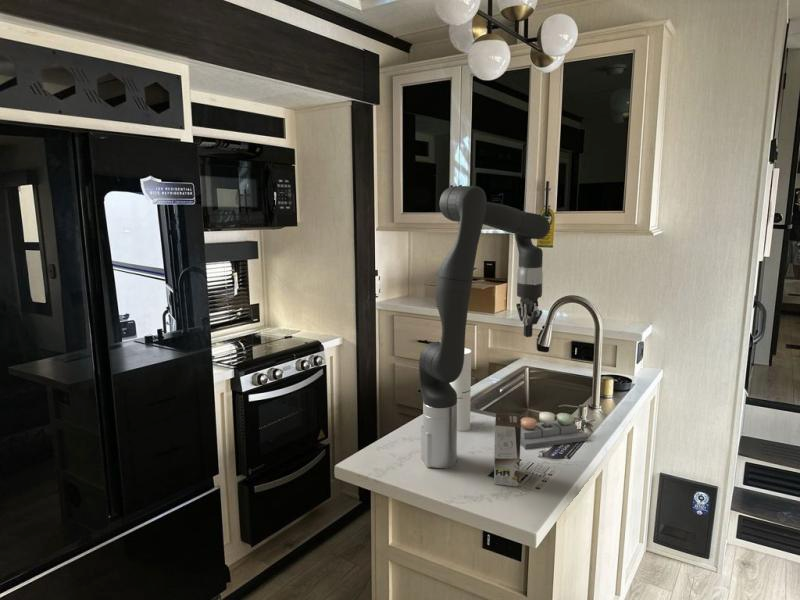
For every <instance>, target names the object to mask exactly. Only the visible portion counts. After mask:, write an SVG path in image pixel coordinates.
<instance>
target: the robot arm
mask: <svg viewBox="0 0 800 600" xmlns="http://www.w3.org/2000/svg"><path fill="white" fill-rule="evenodd" d="M439 210H440V212H441V214H442V216H444V218H446V219H447V220H449V221H451V222H457V223H458V222H459V227H458V233H457V236H456V239H455V242H454V244H453V246H452V247H451V249H450V251H449V252H448V253H447V255H446V257H445V258H444V259H443V261H442V262H441V264H440V266H439V268H438V272H437V278H436V284H435V285H436V286H435V293H434V294H435V302H436V307H437V311H438V313H439V317H440V322H441V340H440V342H435V341H434V342H430V343H428V344H426V345H425V346H424V347H423V349H422V350H421V352H420V356H419V361H418V374H419V375H418V376H419V389H420V390H419V391H420V394H421V396H422V415H423V416H422V425H421V426H420V459H421V460H422V461H423V463H424V465H425V466H426V468H434V469H435V468H436V469H447V468H450V467H452V466H455V465H456V463H457V457H458V453H457V452H458V451H457V449H458V448H457V446H458V444H457V443H458V439H457V437H458V436H457V435H458V433H457V432H458V431H457V393H456V391H455V390H454V389H453V387H452V386H451V385H450V383H451V382H454V381H455V380H456V379H457V378H458V377H459V376H460V374H461V372H462V369H463V364H464V351H465V348H466V345H465V344H466V329H467V328H466V327H467V320H468V312H469V311H468V310H469V306H470V305H469V304H470V297H471V294H472V287H473V279H474V271H475V265H476V264H475V263H476V257H477V254H478V253H477V252H478V248H479V247H478V246H479V242H480V237H481V233H482V229H483V225H484V226H487V227H490V228H493V229H496V230H500V231H503V232H505V233H506V232H507V233H510V234H514V238H515V242H516V248H517V251H518V269H517V274H516V275H517V276H516V296H517V297H518V298H520V300H519V303H516V311H517V314H518V317H519V320H520V322H522V324H523V336H524V337H525V338H531V337H533V326H535V325H537V324H538V322H539V321H540V318H541V317H542V314H543V310H540V309H539V300H538V299H539V298H542V296H543V281H544V280H543V277H544V273H543V255H544V254H543V252H544V251H543V249H542V248H541V247H538V246H536V245H534V244H533V240H541V239H542V240H543V239H544V238H546V237H547V236H548V234H549V233H550V230H551V224H550V221H549V219H548V218H547V217H546V216H544V215H542V214H540V213H539V214H538V213H533V212H528V211H527V212H526V211H523V210H520V209H518V208H515V207H512V206H509V205H505V204H502V203H501V204H500V203H495V202H490V201H487V196H486V192H485V190H484V189H482V188H481V187H480V186H476V185H474V186H473V185H469V186H468V185H455V186H451V187H448V188H446V189H445V190H443V192H442V194H441V195H440V199H439Z"/></svg>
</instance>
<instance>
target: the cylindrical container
mask: <svg viewBox="0 0 800 600" xmlns="http://www.w3.org/2000/svg"><path fill="white" fill-rule="evenodd" d="M471 377H472V349H469V348H466V347H465V351H464V364H463V369H462V372H461V374H460V376H459V377H458V378H457V379H456V380H455V381H454V382H451V383H450V385H451V386H452V387H453V389H454V390H455V391H456V393H457V432H464V431H468V430H470V428H471V394H472V393H471V391H472V390H471V386H472V384H471V383H472V382H471V380H472V378H471Z"/></svg>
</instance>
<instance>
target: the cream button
mask: <svg viewBox="0 0 800 600" xmlns="http://www.w3.org/2000/svg"><path fill="white" fill-rule="evenodd" d="M555 416H556V415H555V414H554V413H553V412H550V411H541V412H539V416H538V417H539V419H538V420H539V421H540V422H543V423H544V426H545V427H549V426H550V423H553V422H554V421H555Z"/></svg>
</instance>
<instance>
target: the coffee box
mask: <svg viewBox="0 0 800 600" xmlns="http://www.w3.org/2000/svg"><path fill="white" fill-rule="evenodd" d="M520 440H521V414H520V413H516V412H496V413H495V427H494V456H493V457H494V463H493V464H494V465H493V468H494V469H493V470H494V471H493V474H494V475H493V484H494V485H501V486H510V487H519V484H520V483H519V481H520V479H519V478H520V465H521V464H520V463H521V462H520V461H521V460H520V458H521V445H520Z"/></svg>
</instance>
